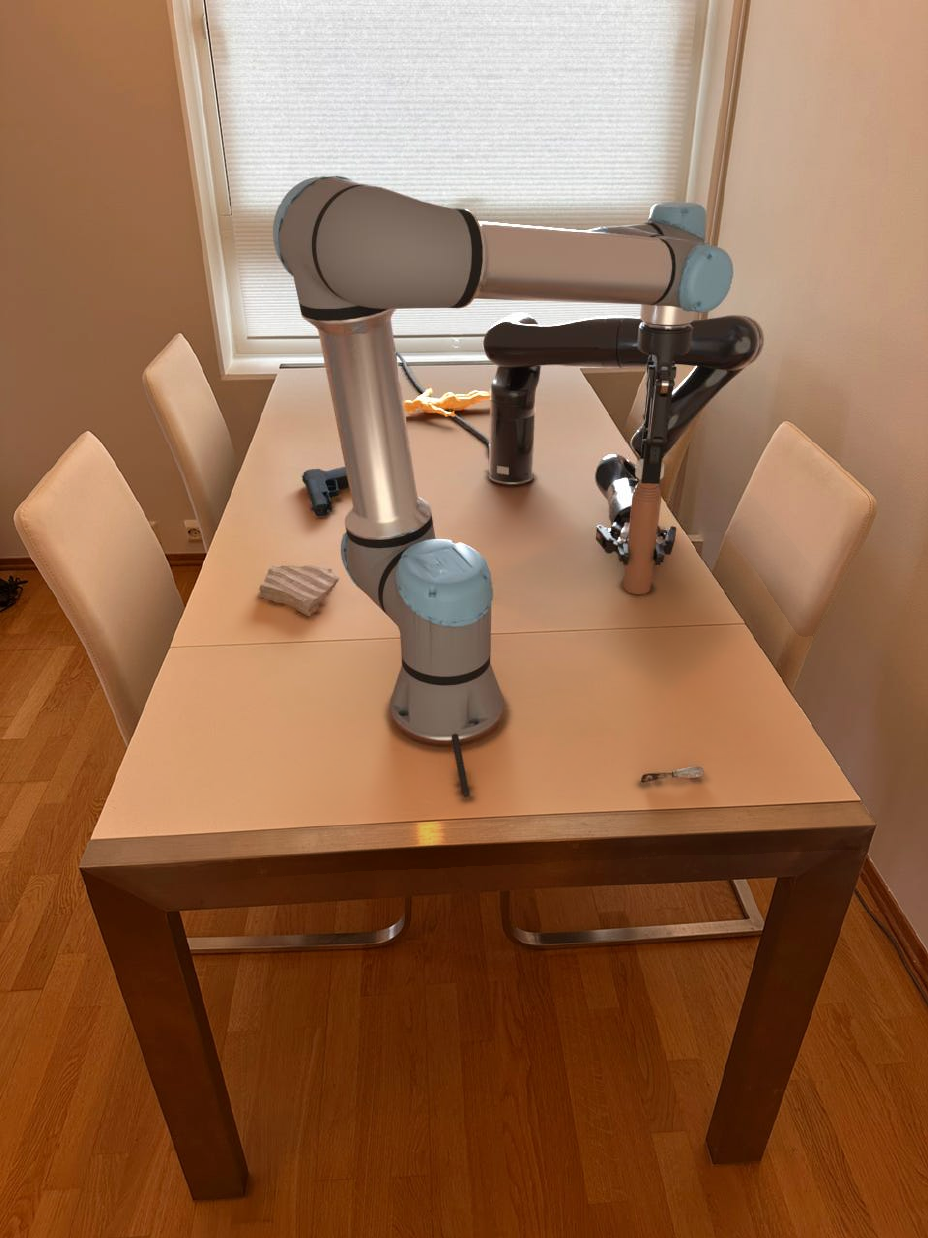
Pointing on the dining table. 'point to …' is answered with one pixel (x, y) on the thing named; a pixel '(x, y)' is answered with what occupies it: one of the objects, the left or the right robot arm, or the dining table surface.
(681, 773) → the putty knife
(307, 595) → the stone
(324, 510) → the handgun
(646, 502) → the bottle
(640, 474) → the cap
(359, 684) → the dining table surface
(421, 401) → the human figure
